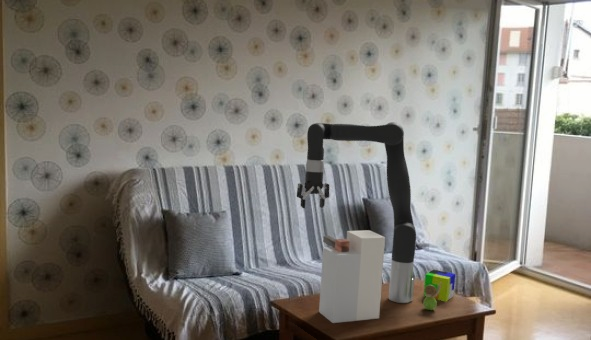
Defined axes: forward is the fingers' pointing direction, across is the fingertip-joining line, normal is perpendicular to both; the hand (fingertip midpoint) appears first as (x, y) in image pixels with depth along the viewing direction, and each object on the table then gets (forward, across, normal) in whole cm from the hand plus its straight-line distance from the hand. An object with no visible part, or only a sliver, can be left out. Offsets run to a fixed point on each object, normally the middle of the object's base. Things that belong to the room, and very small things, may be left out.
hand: (312, 207), depth 265 cm
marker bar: (+10, +2, +27) cm, 29 cm away
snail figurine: (+36, -39, +36) cm, 64 cm away
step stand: (+36, -3, +33) cm, 49 cm away
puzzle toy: (+36, -53, +22) cm, 68 cm away
